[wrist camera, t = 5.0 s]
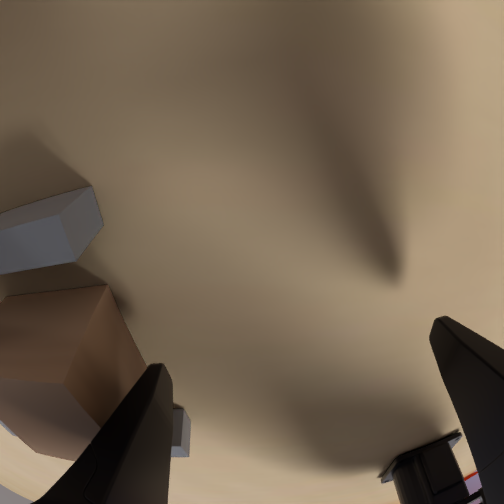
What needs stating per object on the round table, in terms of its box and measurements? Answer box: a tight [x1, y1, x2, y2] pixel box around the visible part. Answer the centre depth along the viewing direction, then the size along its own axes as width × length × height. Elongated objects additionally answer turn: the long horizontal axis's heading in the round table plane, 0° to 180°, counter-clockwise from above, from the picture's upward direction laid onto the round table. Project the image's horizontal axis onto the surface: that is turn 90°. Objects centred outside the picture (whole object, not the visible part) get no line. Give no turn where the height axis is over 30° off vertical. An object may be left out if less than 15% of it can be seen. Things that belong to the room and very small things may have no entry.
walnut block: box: [0, 285, 147, 461], centre depth 9 cm, size 5×5×4 cm
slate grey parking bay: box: [0, 186, 191, 457], centre depth 10 cm, size 11×11×2 cm
